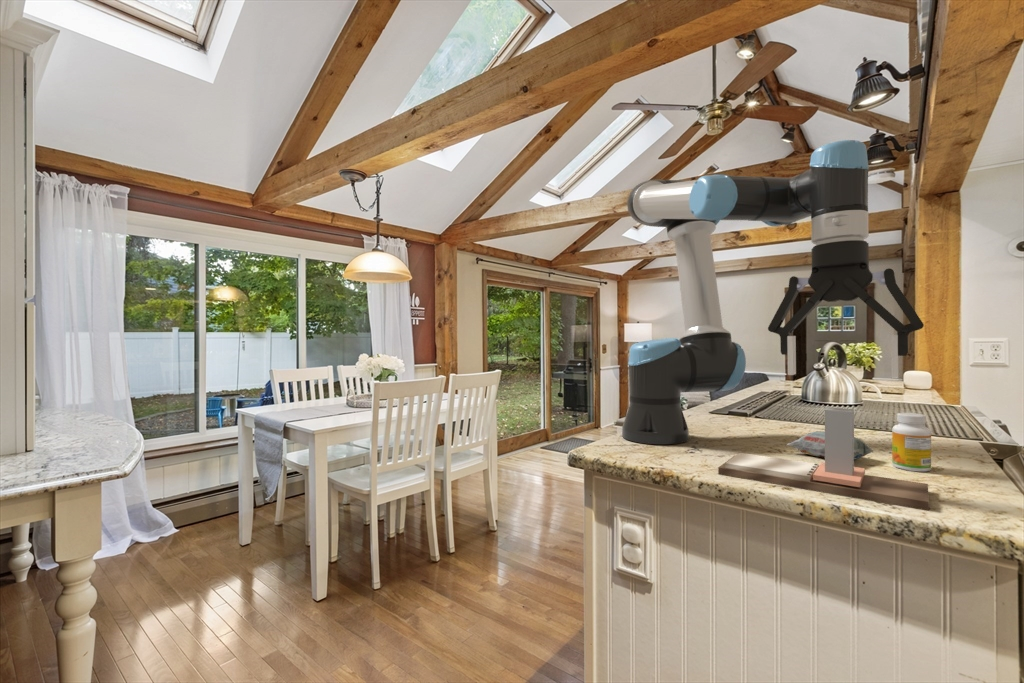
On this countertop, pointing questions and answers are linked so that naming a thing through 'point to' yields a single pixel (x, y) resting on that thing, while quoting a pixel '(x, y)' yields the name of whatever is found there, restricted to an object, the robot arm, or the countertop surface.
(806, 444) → the packaged food
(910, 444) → the supplement bottle
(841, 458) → the grey upright slab piece
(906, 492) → the board
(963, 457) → the countertop surface
